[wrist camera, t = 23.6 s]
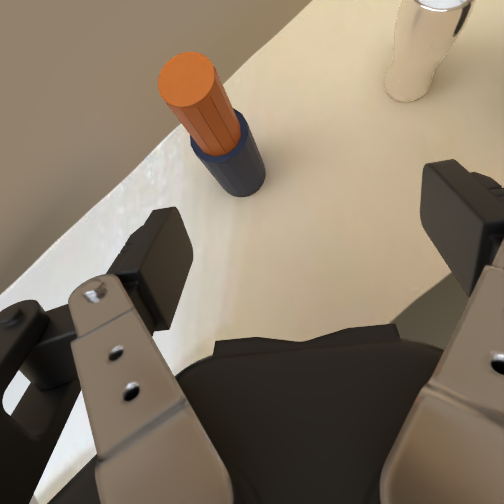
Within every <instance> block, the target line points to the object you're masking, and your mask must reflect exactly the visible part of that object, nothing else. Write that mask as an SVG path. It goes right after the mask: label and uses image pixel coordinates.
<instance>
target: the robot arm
mask: <svg viewBox="0 0 504 504" xmlns="http://www.w3.org/2000/svg"><path fill="white" fill-rule="evenodd" d="M420 217H421V222H422V226H423V228H424V230H425V231H426V233H427V235H428V236H429V238H430V239H431V241H432V242H433V244H434V245H435V247H436V248H437V250H438V251H439V253H440V254H441V256H442V258H443V259H444V261H445V262H446V264H447V265H448V267H449V268H450V270H451V271H452V273H453V274H454V276H455V277H456V279H457V280H458V282H459V284H460V285H461V287H462V288H463V290H464V291H465V293H466V294H467V296H468V297H469V300H468V302H467V304H466V306H465V308H464V311H463V313H462V315H461V317H460V319H459V321H458V323H457V325H456V327H455V329H454V331H453V333H452V335H451V337H450V340H449V342H448V344H447V346H446V348H445V350H443V349H441V348H438V347H436V346H433V345H430V344H427V343H424V342H420V341H416V340H411V339H405V338H400V336H399V333H398V330H397V327H396V325H395V324H386V325H375V326H365V327H355V328H347V329H343V330H340V331H337V332H334V333H331V334H327V335H324V336H321V337H318V338H314V339H311V340H308V341H304V342H295V341H286V340H278V339H270V338H261V337H251V338H241V339H230V340H220V341H215V346H214V352H213V355H211V356H208V357H206V358H203V359H201V360H199V361H197V362H195V363H193V364H191V365H190V366H188V367H187V368H185V369H184V370H182V371H181V372H180V373H178V374H177V375H176V376H175V377H174V375H173V374H172V372H171V370H170V368H169V367H168V365H167V363H166V361H165V359H164V358H163V356H162V354H161V352H160V351H159V349H158V347H157V345H156V344H155V342H154V340H153V338H152V336H153V333H154V331H162V330H169V329H170V326H171V323H172V320H173V317H174V315H175V312H176V309H177V306H178V303H179V300H180V297H181V294H182V291H183V288H184V285H185V282H186V279H187V276H188V273H189V270H190V267H191V264H192V261H193V248H192V244H191V242H190V239H189V236H188V234H187V231H186V228H185V226H184V223H183V221H182V218H181V215H180V213H179V211H178V209H177V208H176V207H169V208H163V209H157V210H153V211H152V213H151V214H150V216H149V217H148V219H147V221H146V222H145V224H144V225H143V226H141V227H140V228H139V229H138V230H136V231H135V232H134V233H133V234H132V235H131V236H130V237H129V239H128V240H127V242H126V243H125V246H124V247H123V248H122V250H121V251H120V254H118V256H117V257H116V259H115V260H114V262H113V264H112V265H111V267H110V268H109V270H108V271H107V273H106V274H104V275H100V276H96V277H94V278H91V279H89V280H87V281H85V282H84V283H82V284H81V285H80V286H78V287H77V288H76V289H75V290H74V291H73V292H72V294H71V295H70V297H69V299H68V304H66V305H63V306H60V307H58V308H55V309H52V310H49V311H46V312H45V311H44V309H43V308H42V307H41V305H40V304H39V303H38V302H37V301H36V300H25V301H21V302H18V303H15V304H13V305H11V306H9V307H7V308H5V309H4V310H2V311H1V312H0V504H29V502H30V500H31V498H32V496H33V494H34V491H35V489H36V487H37V485H38V483H39V481H40V478H41V476H42V474H43V472H44V470H45V467H46V465H47V463H48V461H49V459H50V457H51V454H52V452H53V450H54V448H55V446H56V444H57V441H58V439H59V437H60V435H61V433H62V430H63V428H64V426H65V424H66V422H67V420H68V417H69V415H70V413H71V411H72V409H73V406H74V404H75V402H76V400H77V398H78V396H79V393H80V391H81V389H82V393H83V397H84V402H85V406H86V410H87V414H88V418H89V422H90V426H91V430H92V434H93V438H94V442H95V447H96V451H97V454H96V455H95V456H94V457H93V458H92V459H91V460H90V461H89V462H88V463H87V464H86V465H85V466H84V467H83V468H82V469H81V470H80V471H79V472H78V473H77V474H76V475H75V476H74V477H73V478H72V479H71V480H70V481H69V482H68V483H67V484H66V485H65V486H64V487H63V488H62V489H61V490H60V491H59V492H58V493H57V494H56V495H55V496H54V497H53V498H52V499H51V500H50V501H49V502H48V503H47V504H504V188H502V186H501V185H499V184H498V183H497V182H496V181H494V180H493V179H492V178H490V177H487V176H485V175H482V174H479V173H476V172H471V173H469V172H468V171H467V170H466V169H465V168H464V167H463V166H461V165H460V164H459V163H458V162H457V161H456V160H454V159H451V160H445V161H439V162H433V163H428V164H425V166H424V168H423V174H422V189H421V204H420ZM18 370H20V371H21V372H22V373H23V374H24V376H25V377H26V378H27V379H28V380H29V381H30V382H31V383H30V385H29V386H28V388H27V390H26V391H25V393H24V395H23V396H22V398H21V400H20V401H19V403H18V405H17V406H16V408H15V410H14V411H13V413H12V415H11V416H10V415H9V414H7V413H6V412H5V410H4V408H3V404H2V400H3V395H4V392H5V390H6V388H7V387H8V385H9V384H10V382H11V381H12V379H13V378H14V376H15V375H16V373H17V372H18Z"/></svg>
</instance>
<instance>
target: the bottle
mask: <svg viewBox="0 0 504 504" xmlns="http://www.w3.org/2000/svg"><path fill="white" fill-rule="evenodd" d="M233 110H234V112H235V114H236V117H237V119H238V121H239V123H240V128H241V137H240V139H239V142H238V144H237V146H236V147H235V148H234V149H233V150H231V151H230V152H229V153H228V154H226V155H220V156H212V155H209V154H206V153H204V152H203V151H202V149H201V148H200V147H199V146H198V144H197V143H196V142H195V140H194V139H193V138H192V136H191V135H190V140H191V147H192V148H193V150H194V152H195V154H196V155H197V157H198V158H199V159H200V160H201V161H202V163H203V164H204V165H205V166H206V168H207V169H208V170H209V171H210V172H211V174H212V175H213V176H214V177H215V179H216V180H217V181H218V182H219V183H220V185H221V186H222V187H223V188H224V189H225V190H226V191H227V192H228V193H229V194H231V195H233V196H237V197H246V196H249V195H252V194H253V193H255V192H256V191H257V190H259V188H260V187H261V186H262V184H263V182H264V179H265V167H264V163H263V161H262V158H261V156H260V153H259V151H258V148H257V146H256V143H255V141H254V138H253V136H252V133H251V131H250V129H249V126H248V124H247V122H246V120H245V118H244V117H243V115H242V114H241V113H240V112H238V111H237V110H235V109H234V108H233Z"/></svg>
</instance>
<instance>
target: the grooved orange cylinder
mask: <svg viewBox="0 0 504 504" xmlns="http://www.w3.org/2000/svg"><path fill="white" fill-rule="evenodd" d="M158 88H159V92H160V94H161V97H162V98H163V99H164V101H165V102H166V103H167V105H168V106H169V107H170V109H171V110H172V111H173V113H174V114H175V115H176V117H177V118H178V119H179V121H180V122H181V123H182V124H183V126H184V127H185V128H186V130H187V131H188V132H189V134H190V135H191V136H192V138H193V139H194V140H195V142H196V143H197V144H198V146H199V147H200V148H201V149H202V151H203V152H204V153H206V154H209V155H212V156H220V155H226V154H228V153H229V152H230V151H231V150H233V149H234V148H235V147H236V146H237V144H238V142H239V139H240V137H241V128H240V123H239V121H238V119H237V117H236V114H235V112H234V110H233V108H232V105H231V103H230V101H229V99H228V96H227V94H226V92H225V90H224V87H223V85H222V83H221V81H220V78H219V76H218V74H217V72H216V69H215V67H214V66H213V65H212V63H211V62H210V60H209V59H208V58H207V57H206V56H204V55H202V54H200V53H197V52H185V53H181V54H179V55H177V56H175V57H173V58H172V59H170V60H169V61H168V62H167V63H166V64H165V66H164V67H163V69H162V70H161V73H160V75H159V79H158Z"/></svg>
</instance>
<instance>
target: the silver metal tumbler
mask: <svg viewBox="0 0 504 504" xmlns="http://www.w3.org/2000/svg"><path fill="white" fill-rule="evenodd" d="M475 2H476V0H402V1H401V4H400V7H399V11H398V14H397V19H396V23H395V30H394V44H393V60H392V63H391V65H390V67H389V69H388V70H387V72H386V74H385V77H384V88H385V91H386V92H387V94H388V95H389V96H390V97H391V98H393V99H395V100H397V101H401V102H411V101H415V100H417V99H419V98H421V97H422V96H424V95H425V94H426V93H427V91H428V90H429V88H430V86H431V83H432V79H433V73H434V71H435V69H436V67H437V66H438V64H439V63H440V62H441V61H442V59H443V58H444V57H445V56H446V54H447V53H448V52H449V50H450V49H451V48H452V46H453V45H454V44H455V42H456V41H457V39H458V38H459V36H460V34H461V33H462V31H463V29H464V27H465V25H466V23H467V21H468V19H469V17H470V15H471V12H472V10H473V7H474V5H475Z"/></svg>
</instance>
